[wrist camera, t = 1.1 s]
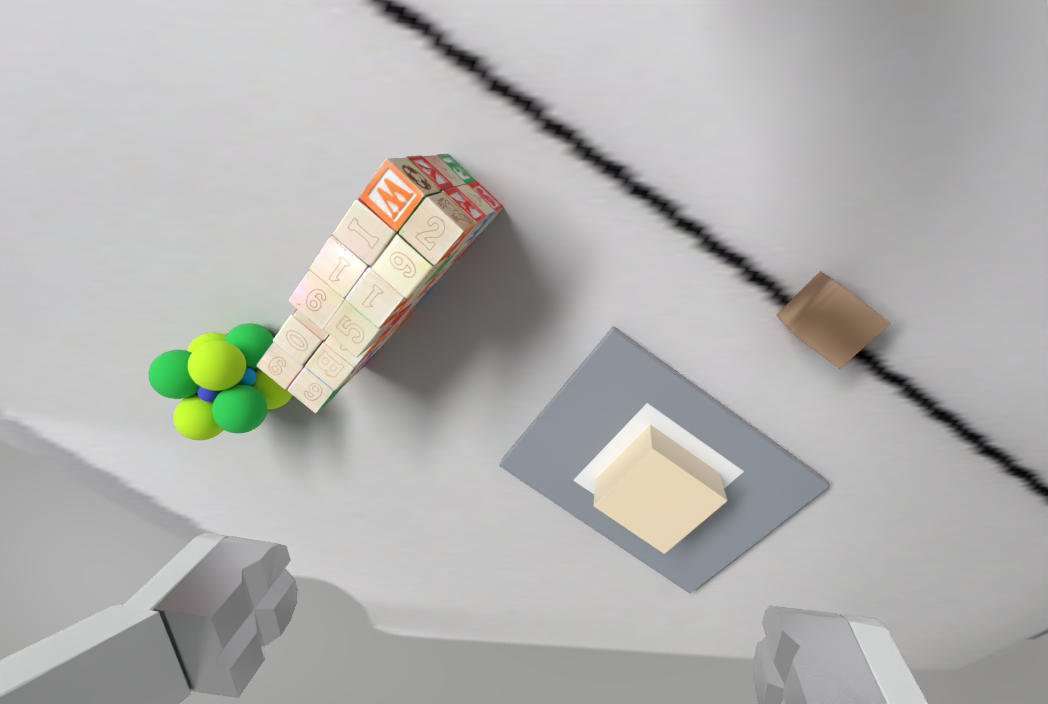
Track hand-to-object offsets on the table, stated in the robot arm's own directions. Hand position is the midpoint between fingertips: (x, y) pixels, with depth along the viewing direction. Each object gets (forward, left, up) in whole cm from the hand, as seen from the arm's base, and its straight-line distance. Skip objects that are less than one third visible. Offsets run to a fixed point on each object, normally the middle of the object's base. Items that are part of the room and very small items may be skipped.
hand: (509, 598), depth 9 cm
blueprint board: (+15, +18, -36) cm, 43 cm away
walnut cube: (-5, +18, -36) cm, 41 cm away
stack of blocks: (+13, -12, -37) cm, 40 cm away
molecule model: (+31, -20, -36) cm, 51 cm away
